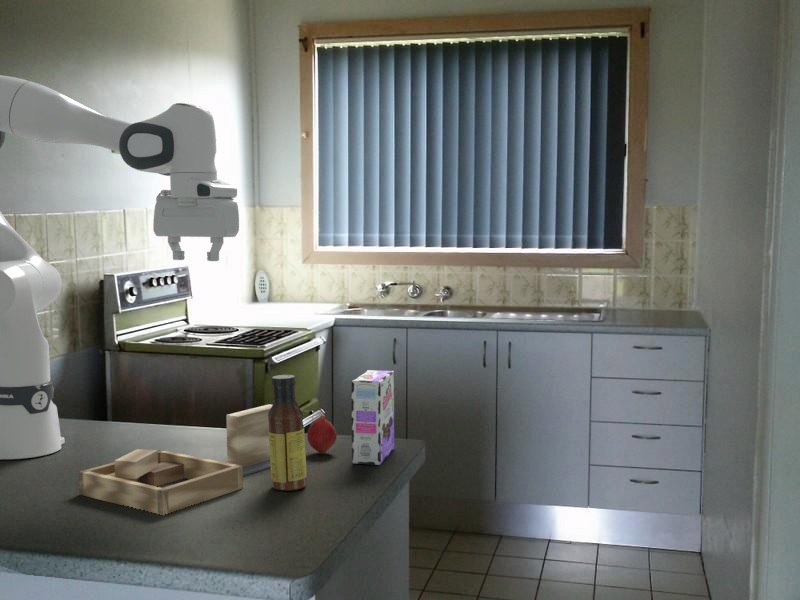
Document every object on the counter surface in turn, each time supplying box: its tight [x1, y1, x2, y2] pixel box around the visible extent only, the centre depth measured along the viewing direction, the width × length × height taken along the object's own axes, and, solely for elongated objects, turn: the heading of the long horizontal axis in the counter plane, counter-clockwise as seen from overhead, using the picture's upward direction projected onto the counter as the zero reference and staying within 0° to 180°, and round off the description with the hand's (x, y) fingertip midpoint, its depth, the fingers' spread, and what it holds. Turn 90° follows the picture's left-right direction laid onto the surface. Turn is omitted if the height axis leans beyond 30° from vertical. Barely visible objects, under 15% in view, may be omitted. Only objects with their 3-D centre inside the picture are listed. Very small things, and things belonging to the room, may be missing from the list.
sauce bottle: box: [268, 374, 308, 492], centre depth 169 cm, size 7×6×20 cm
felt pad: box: [224, 460, 271, 477], centre depth 186 cm, size 9×17×1 cm, turn 146°
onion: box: [306, 414, 337, 455], centre depth 193 cm, size 6×6×8 cm
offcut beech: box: [114, 448, 158, 479], centre depth 170 cm, size 4×8×3 cm, turn 167°
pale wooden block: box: [226, 403, 273, 468], centre depth 186 cm, size 3×12×10 cm, turn 146°
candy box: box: [351, 369, 395, 466], centre depth 190 cm, size 14×6×16 cm, turn 168°
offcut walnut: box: [138, 461, 185, 487], centre depth 174 cm, size 4×7×3 cm, turn 146°
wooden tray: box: [78, 449, 244, 516], centre depth 167 cm, size 21×18×4 cm
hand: (195, 260), depth 187 cm, fingers open, 8 cm apart
